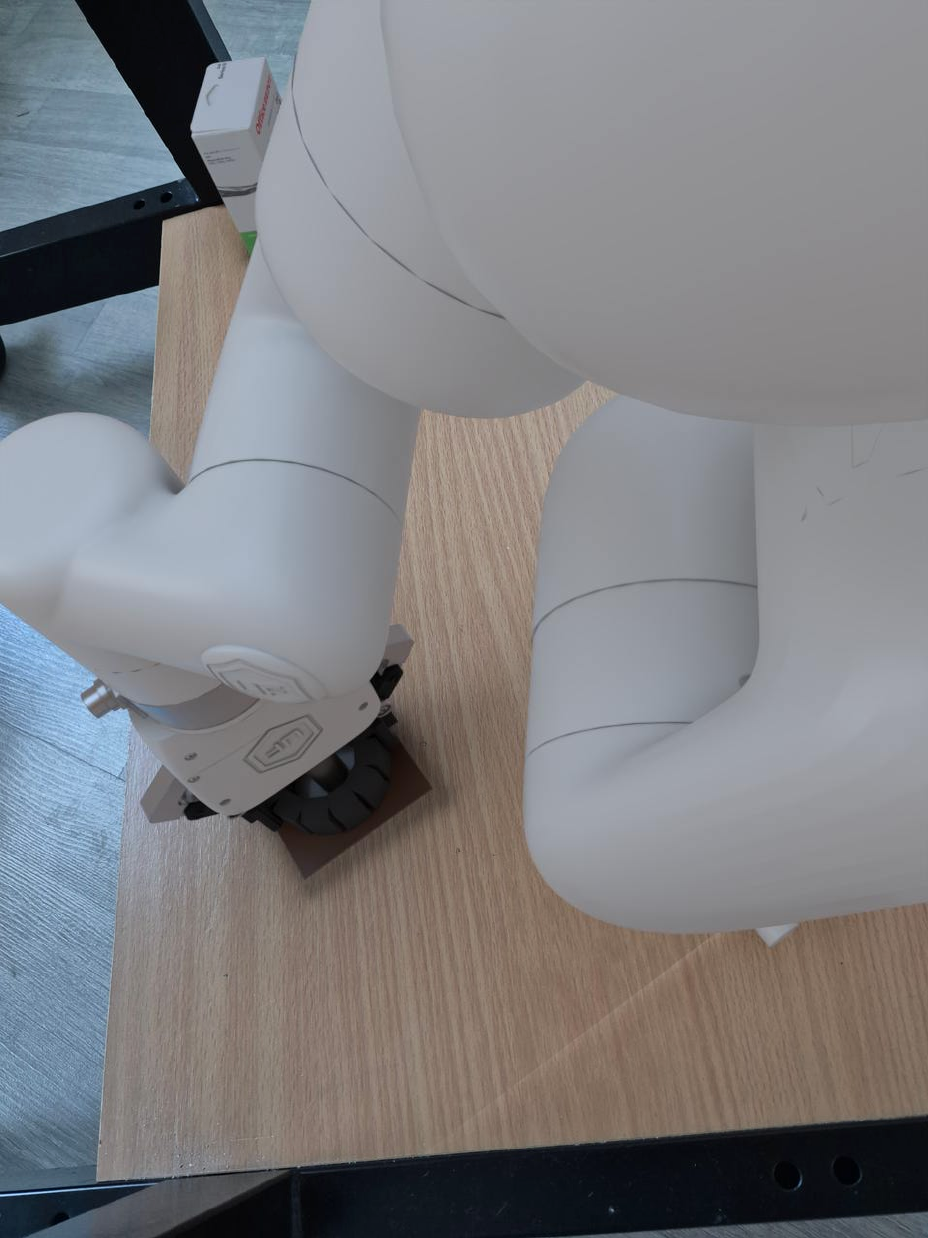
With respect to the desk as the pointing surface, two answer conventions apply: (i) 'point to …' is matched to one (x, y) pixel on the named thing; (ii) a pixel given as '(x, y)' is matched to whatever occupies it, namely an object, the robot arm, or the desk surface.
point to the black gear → (340, 793)
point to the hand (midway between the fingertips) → (325, 768)
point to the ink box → (236, 133)
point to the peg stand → (400, 794)
